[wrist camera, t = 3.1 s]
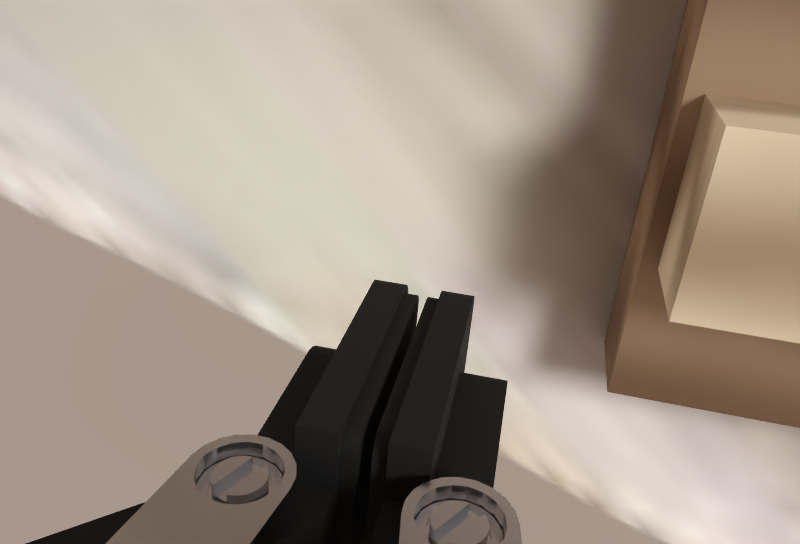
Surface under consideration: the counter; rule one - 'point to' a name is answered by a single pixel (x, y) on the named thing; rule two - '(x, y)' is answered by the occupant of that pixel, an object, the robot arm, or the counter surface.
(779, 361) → the board
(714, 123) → the tile
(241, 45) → the counter surface
